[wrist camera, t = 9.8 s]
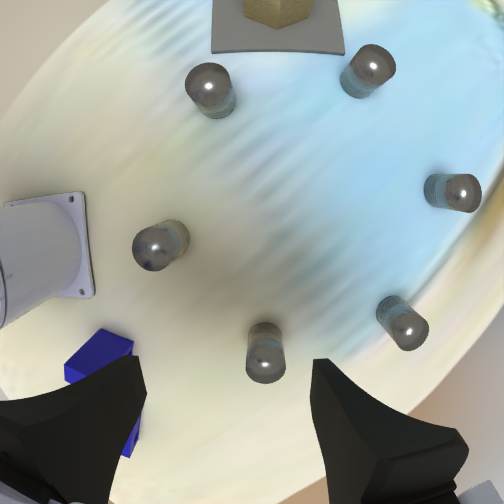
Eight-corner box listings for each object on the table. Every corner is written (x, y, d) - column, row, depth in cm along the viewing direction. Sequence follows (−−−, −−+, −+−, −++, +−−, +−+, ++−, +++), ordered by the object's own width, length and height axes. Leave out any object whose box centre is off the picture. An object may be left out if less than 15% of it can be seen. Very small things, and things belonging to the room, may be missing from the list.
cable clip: (138, 438, 24) (119, 480, 19) (98, 421, 24) (74, 459, 18) (152, 347, 22) (123, 391, 16) (101, 327, 22) (63, 364, 16)
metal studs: (168, 349, 22) (152, 378, 18) (154, 71, 17) (133, 50, 13) (431, 338, 21) (454, 361, 17) (441, 84, 17) (470, 70, 13)
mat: (212, 53, 17) (211, 51, 17) (215, -32, 15) (214, -35, 15) (343, 55, 17) (345, 53, 16) (329, -31, 15) (330, -33, 15)
